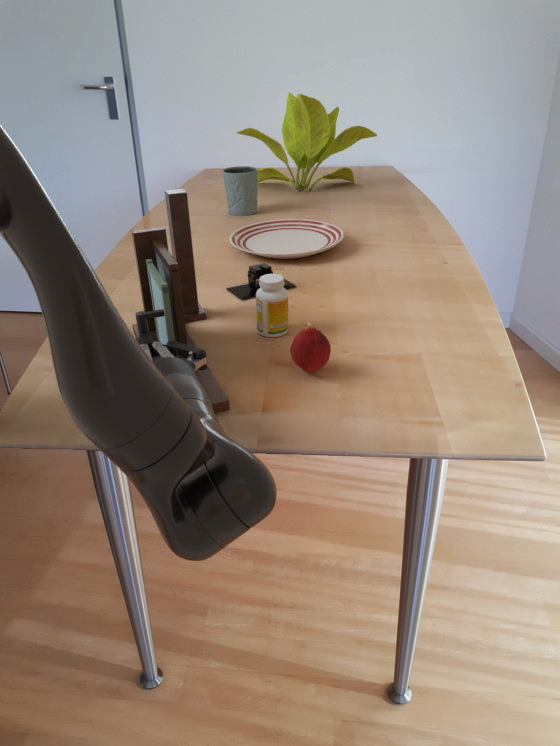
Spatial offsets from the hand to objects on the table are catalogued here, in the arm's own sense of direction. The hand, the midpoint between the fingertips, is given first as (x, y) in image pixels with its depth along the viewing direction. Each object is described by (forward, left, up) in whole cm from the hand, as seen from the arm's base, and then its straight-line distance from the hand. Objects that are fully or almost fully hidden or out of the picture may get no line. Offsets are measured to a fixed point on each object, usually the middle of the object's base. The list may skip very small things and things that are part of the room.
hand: (145, 338), depth 74 cm
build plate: (+27, +29, -8) cm, 41 cm away
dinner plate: (+42, +51, -8) cm, 67 cm away
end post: (+11, +22, -8) cm, 26 cm away
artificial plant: (+74, +109, -8) cm, 132 cm away
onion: (+22, -5, -8) cm, 24 cm away
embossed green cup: (+43, +87, -8) cm, 98 cm away
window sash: (+2, +5, -7) cm, 8 cm away
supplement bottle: (+22, +10, -8) cm, 26 cm away
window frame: (+4, +5, -8) cm, 10 cm away
